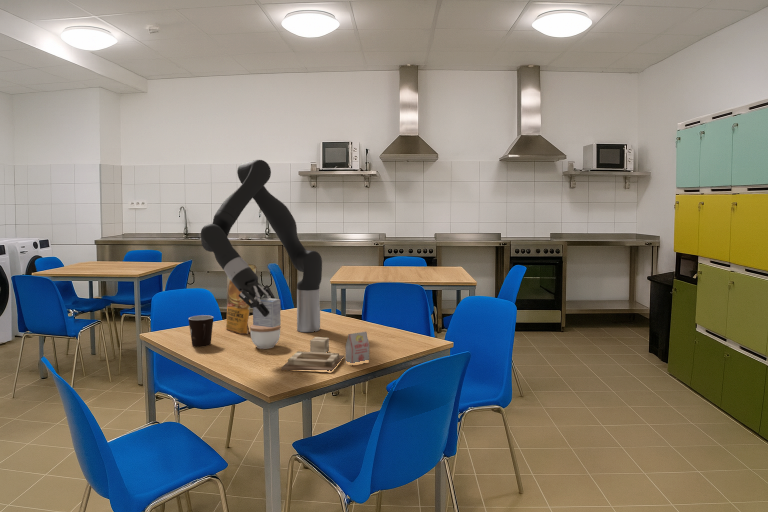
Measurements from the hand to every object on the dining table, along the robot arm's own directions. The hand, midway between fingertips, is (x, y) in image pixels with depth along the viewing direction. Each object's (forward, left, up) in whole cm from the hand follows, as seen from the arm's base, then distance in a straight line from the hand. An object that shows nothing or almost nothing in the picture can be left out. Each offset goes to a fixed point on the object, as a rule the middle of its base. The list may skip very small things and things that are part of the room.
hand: (271, 313), depth 159 cm
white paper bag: (-10, +26, -16) cm, 32 cm away
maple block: (-15, +9, -16) cm, 24 cm away
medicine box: (0, -2, -4) cm, 5 cm away
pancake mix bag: (-30, -38, -16) cm, 51 cm away
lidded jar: (-14, -13, -16) cm, 25 cm away
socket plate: (-3, +14, -16) cm, 21 cm away
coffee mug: (-5, -35, -16) cm, 39 cm away
